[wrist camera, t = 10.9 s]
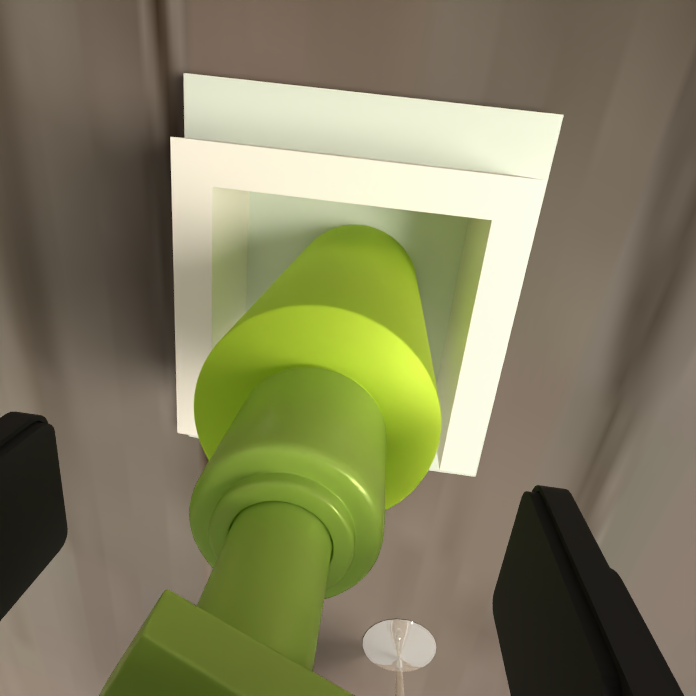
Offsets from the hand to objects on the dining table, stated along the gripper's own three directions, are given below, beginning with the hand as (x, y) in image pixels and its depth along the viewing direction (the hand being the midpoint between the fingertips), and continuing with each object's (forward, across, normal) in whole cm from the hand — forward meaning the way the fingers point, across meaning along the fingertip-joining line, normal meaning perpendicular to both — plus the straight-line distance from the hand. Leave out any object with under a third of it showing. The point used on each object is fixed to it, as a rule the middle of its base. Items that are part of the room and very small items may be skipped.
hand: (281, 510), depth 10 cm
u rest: (+16, 0, 0) cm, 16 cm away
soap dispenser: (+16, -1, 0) cm, 16 cm away
